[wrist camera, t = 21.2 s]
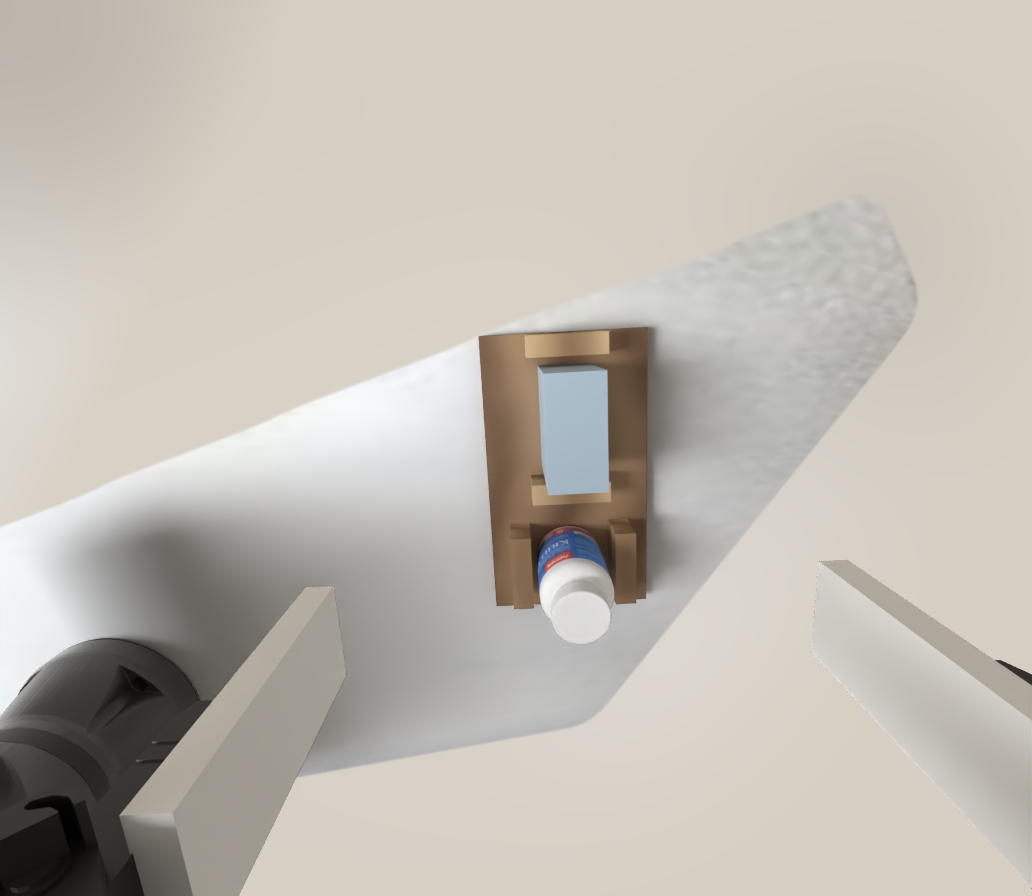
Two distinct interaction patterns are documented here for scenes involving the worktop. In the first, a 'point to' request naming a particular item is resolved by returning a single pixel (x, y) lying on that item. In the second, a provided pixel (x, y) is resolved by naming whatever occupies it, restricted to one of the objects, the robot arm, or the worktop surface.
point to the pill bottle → (574, 584)
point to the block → (574, 428)
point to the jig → (518, 464)
